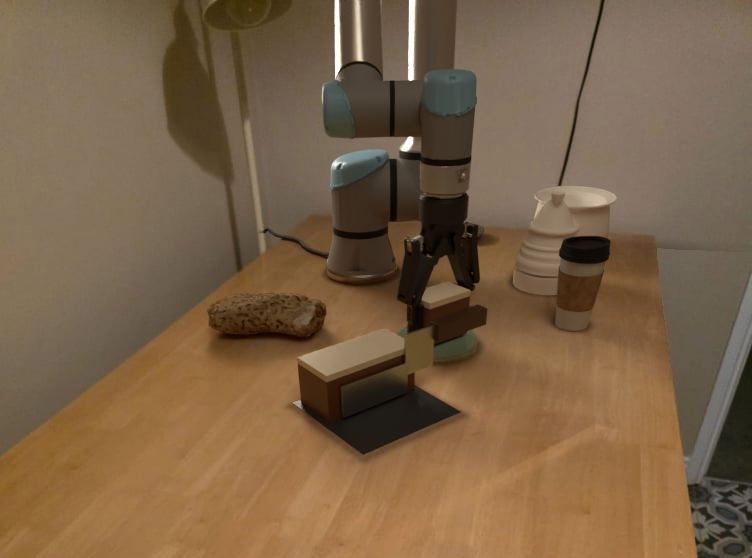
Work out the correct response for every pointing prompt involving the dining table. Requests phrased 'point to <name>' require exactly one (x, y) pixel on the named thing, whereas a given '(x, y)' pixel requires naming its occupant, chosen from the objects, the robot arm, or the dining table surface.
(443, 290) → the cake slice
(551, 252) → the honey pot
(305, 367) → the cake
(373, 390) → the square cleaver
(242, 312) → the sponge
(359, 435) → the cake board
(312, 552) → the dining table surface
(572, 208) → the pot
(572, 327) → the coffee cup
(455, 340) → the serving plate
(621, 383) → the dining table surface
